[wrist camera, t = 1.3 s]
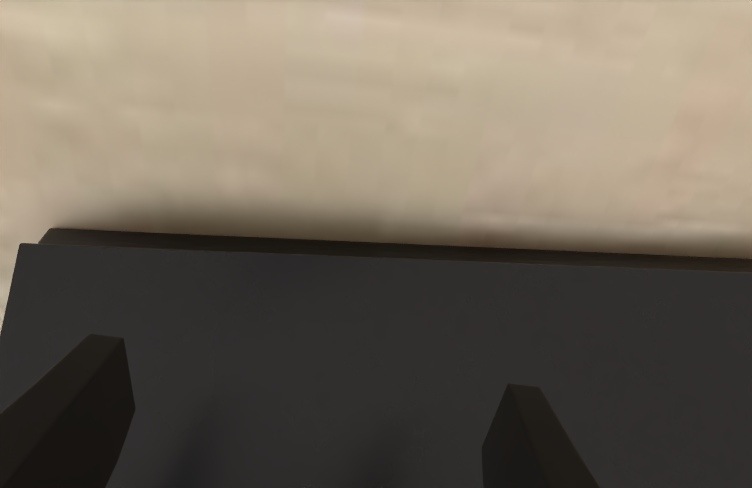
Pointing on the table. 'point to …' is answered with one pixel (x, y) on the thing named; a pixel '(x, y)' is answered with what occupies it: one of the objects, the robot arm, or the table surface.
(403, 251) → the laptop
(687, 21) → the table surface
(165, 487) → the laptop screen
